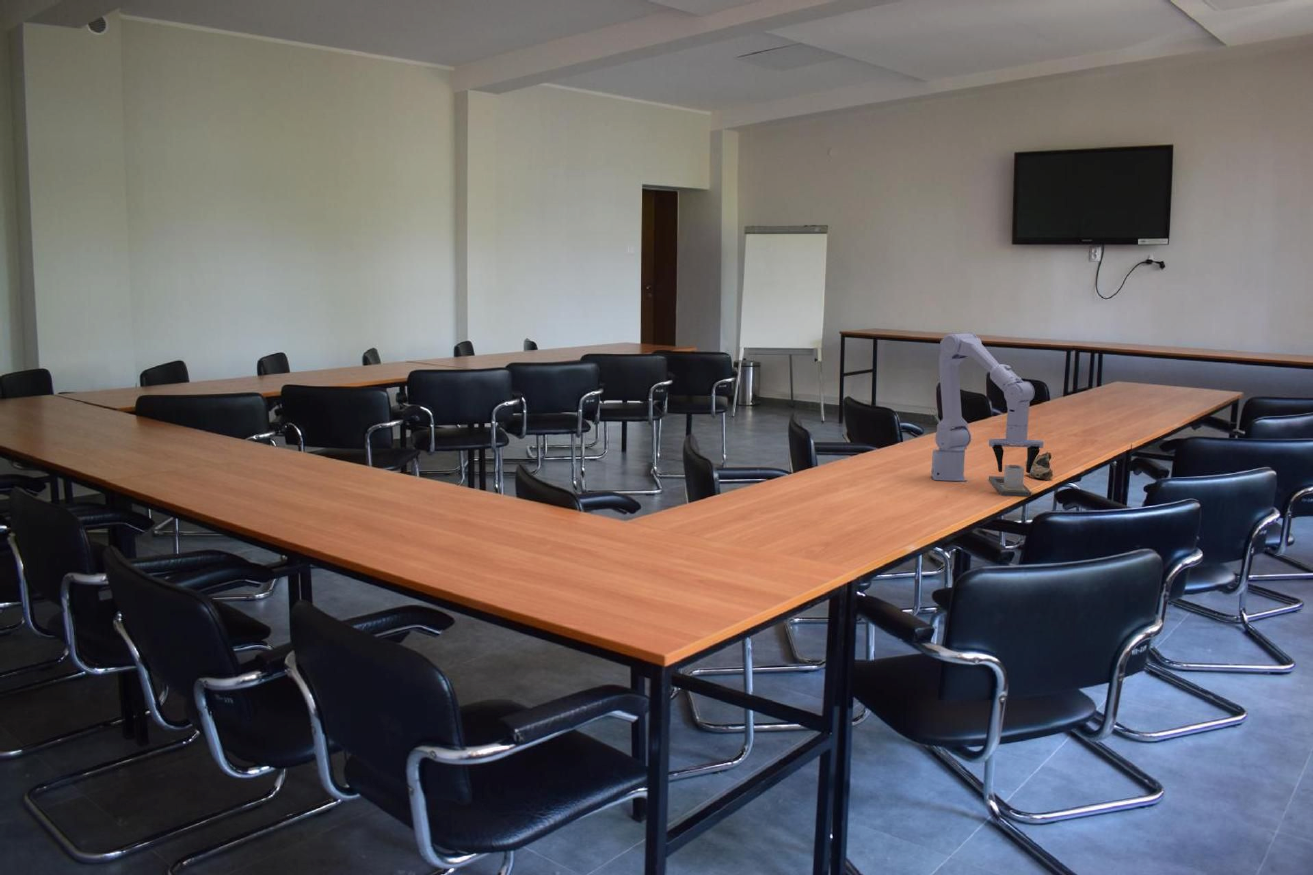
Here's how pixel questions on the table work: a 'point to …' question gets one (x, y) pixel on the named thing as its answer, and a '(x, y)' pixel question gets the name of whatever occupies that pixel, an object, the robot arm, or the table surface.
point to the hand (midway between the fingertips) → (1014, 472)
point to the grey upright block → (1013, 477)
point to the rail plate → (1008, 492)
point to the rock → (1041, 467)
